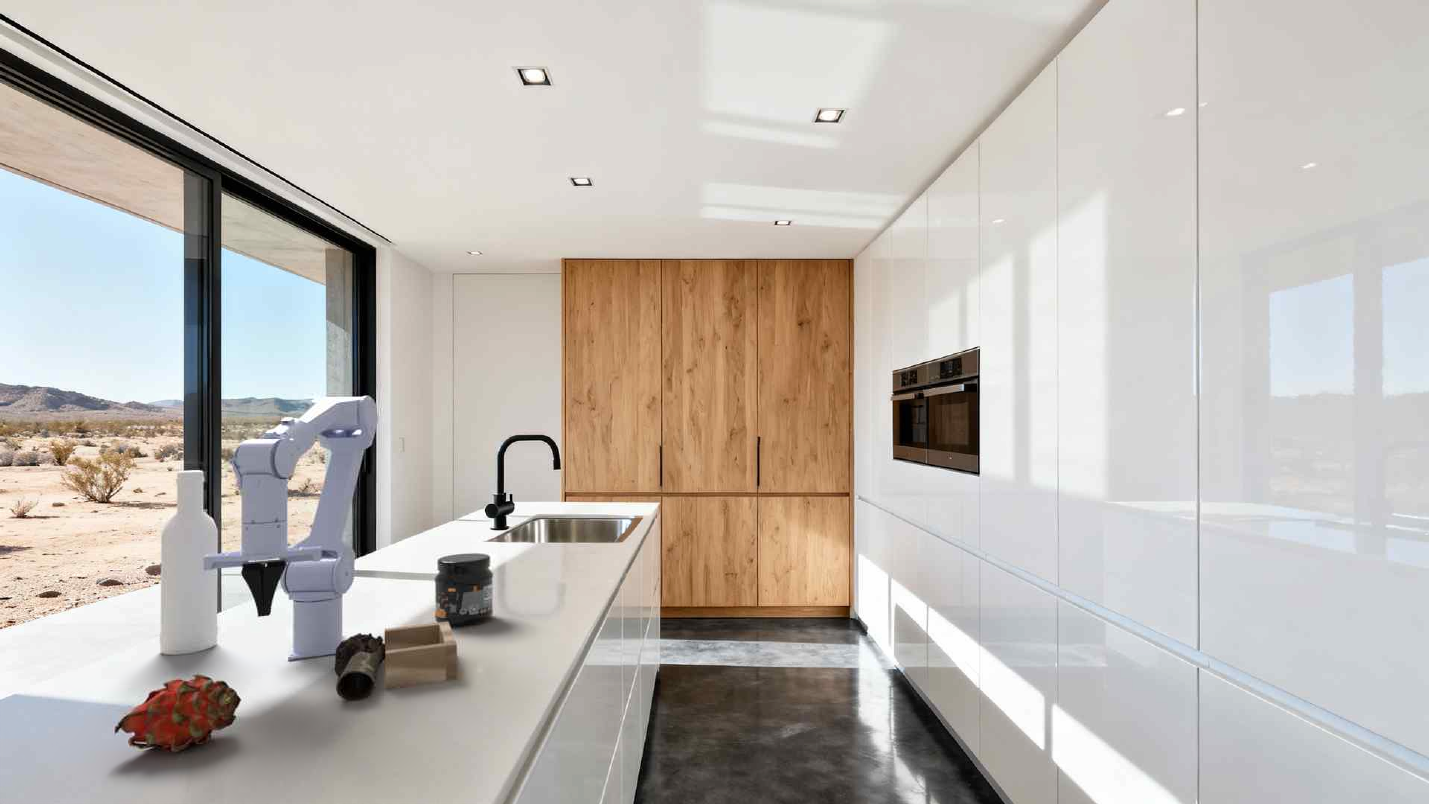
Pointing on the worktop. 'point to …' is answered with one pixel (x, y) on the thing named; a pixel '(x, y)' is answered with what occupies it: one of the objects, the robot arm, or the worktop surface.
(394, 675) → the light wooden open box
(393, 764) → the worktop surface
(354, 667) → the metal pipe
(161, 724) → the dragon fruit
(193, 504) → the bottle
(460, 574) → the supplement container
